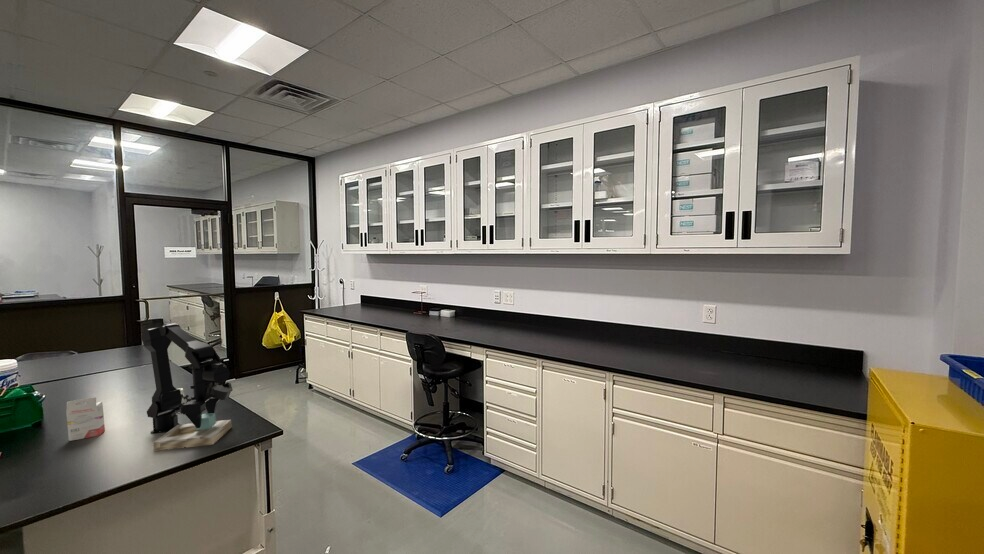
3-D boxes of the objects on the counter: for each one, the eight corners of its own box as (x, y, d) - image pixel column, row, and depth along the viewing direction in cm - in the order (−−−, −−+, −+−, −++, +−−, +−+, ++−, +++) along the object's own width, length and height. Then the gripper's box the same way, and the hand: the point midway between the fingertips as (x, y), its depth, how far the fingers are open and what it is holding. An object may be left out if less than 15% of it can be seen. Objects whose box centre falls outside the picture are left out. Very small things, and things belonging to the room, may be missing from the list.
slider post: (192, 439, 136) (191, 420, 135) (201, 431, 141) (200, 413, 141) (211, 437, 137) (210, 418, 136) (219, 430, 143) (218, 411, 142)
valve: (169, 404, 173) (172, 411, 165) (168, 390, 172) (171, 396, 164) (187, 400, 178) (191, 407, 169) (186, 386, 177) (191, 392, 169)
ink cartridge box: (105, 430, 147) (102, 393, 146) (99, 435, 142) (96, 397, 141) (74, 435, 143) (71, 397, 142) (67, 441, 138) (64, 401, 137)
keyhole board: (153, 451, 130) (153, 442, 130) (178, 432, 143) (177, 424, 143) (213, 444, 133) (212, 435, 133) (231, 427, 147) (231, 419, 147)
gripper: (214, 386, 131) (217, 431, 131) (238, 371, 149) (241, 410, 150) (177, 389, 128) (180, 434, 129) (206, 373, 146) (209, 413, 147)
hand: (205, 422), depth 139 cm, fingers open, 9 cm apart
